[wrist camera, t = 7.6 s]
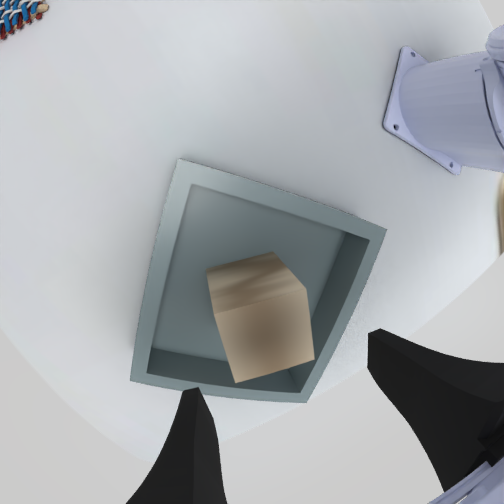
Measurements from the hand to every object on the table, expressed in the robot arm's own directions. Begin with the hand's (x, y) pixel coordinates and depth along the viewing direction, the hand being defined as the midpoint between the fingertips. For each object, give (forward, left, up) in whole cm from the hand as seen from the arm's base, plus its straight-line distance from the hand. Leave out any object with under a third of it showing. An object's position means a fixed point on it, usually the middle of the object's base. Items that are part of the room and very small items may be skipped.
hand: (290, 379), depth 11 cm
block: (0, 0, -10) cm, 10 cm away
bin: (0, 0, -10) cm, 10 cm away
